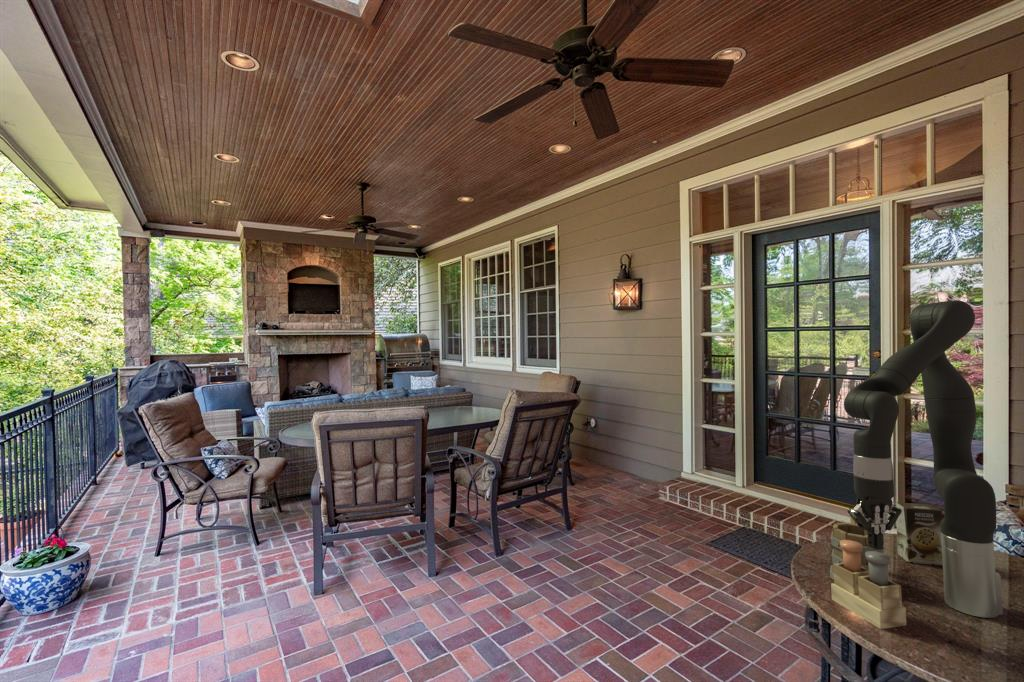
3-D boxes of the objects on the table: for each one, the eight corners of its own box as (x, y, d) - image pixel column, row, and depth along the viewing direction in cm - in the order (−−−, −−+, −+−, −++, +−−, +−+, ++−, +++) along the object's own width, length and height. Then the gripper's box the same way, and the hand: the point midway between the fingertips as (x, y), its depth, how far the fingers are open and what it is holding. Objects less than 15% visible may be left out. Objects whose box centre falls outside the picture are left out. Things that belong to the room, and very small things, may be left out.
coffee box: (908, 563, 135) (905, 508, 136) (897, 553, 142) (894, 501, 142) (946, 566, 133) (942, 510, 133) (933, 557, 139) (930, 503, 140)
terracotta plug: (852, 565, 117) (850, 539, 117) (868, 574, 113) (867, 546, 113) (836, 567, 116) (835, 540, 117) (852, 576, 112) (851, 548, 112)
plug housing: (855, 596, 118) (853, 561, 118) (906, 625, 105) (904, 585, 105) (831, 599, 117) (830, 563, 117) (880, 629, 104) (878, 588, 104)
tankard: (889, 597, 117) (886, 538, 118) (829, 583, 125) (826, 528, 125) (885, 567, 133) (882, 515, 134) (832, 557, 141) (830, 507, 141)
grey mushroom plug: (878, 578, 110) (876, 550, 111) (897, 588, 106) (895, 558, 106) (861, 580, 110) (860, 552, 110) (880, 590, 105) (878, 560, 105)
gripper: (863, 480, 104) (866, 557, 103) (912, 477, 106) (916, 552, 105) (835, 472, 111) (838, 544, 111) (881, 469, 113) (884, 539, 113)
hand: (876, 548), depth 108 cm, fingers closed
